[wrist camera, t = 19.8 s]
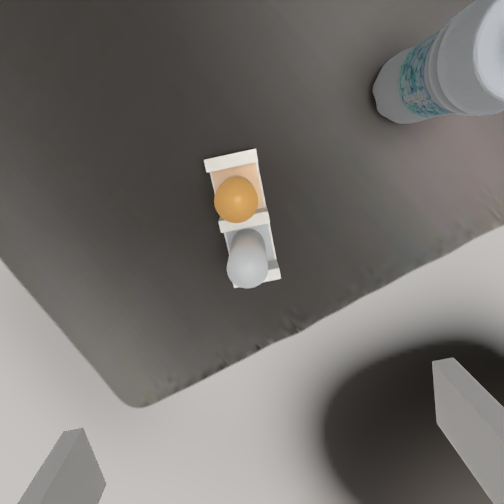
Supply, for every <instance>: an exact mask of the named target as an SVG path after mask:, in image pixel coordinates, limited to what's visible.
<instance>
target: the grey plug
mask: <svg viewBox="0 0 504 504" xmlns="http://www.w3.org/2000/svg"><path fill="white" fill-rule="evenodd" d="M227 274H228V277H229V279H230V280H231V281H232V282H233V283H234V284H235V285H237V286H239V287H241V288H254V287H256V286H258V285H260V284H261V283H262V282H263V281H264V280H265V279H266V277H267V274H268V262H267V255H266V247H265V241H264V238H263V236H262V235H261V234H260V233H259V232H258V231H256V230H254V229H243V230H240V231H239V232H237V233H236V234H235V236H234V237H233V240H232V244H231V249H230V254H229V258H228V263H227Z"/></svg>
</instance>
